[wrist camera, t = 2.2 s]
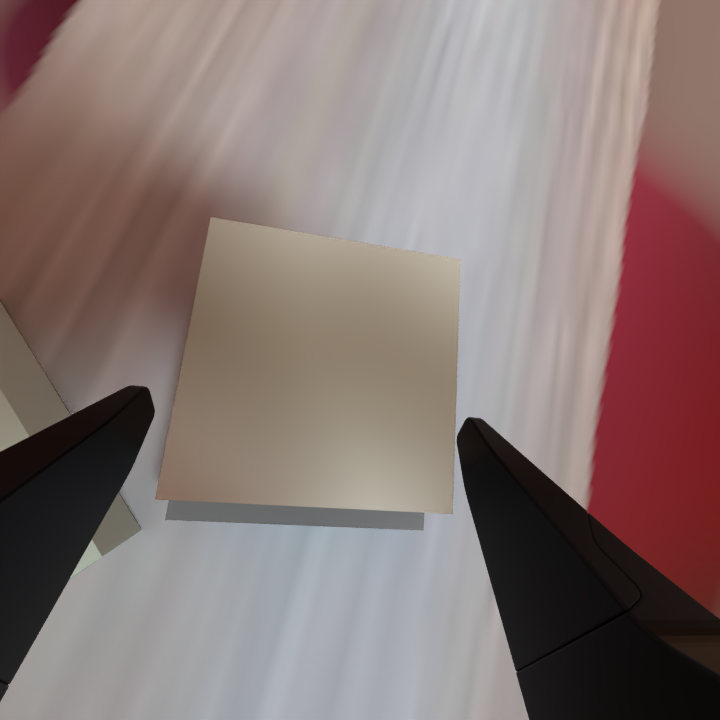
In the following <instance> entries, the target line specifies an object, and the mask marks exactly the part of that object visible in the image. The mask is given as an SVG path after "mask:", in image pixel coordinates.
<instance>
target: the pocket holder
mask: <svg viewBox="0 0 720 720" xmlns="http://www.w3.org/2000/svg"><path fill="white" fill-rule="evenodd" d="M165 520H186V521H210V522H234V523H259V524H283V525H307V526H331V527H355V528H379V529H404V530H423V528H424V513H422V512H402V511H382V510H361V509H341V508H321V507H301V506H281V505H260V504H240V503H220V502H200V501H180V500H169V503H168V508H167V513H166V518H165Z"/></svg>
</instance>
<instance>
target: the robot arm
mask: <svg viewBox="0 0 720 720" xmlns="http://www.w3.org/2000/svg"><path fill="white" fill-rule="evenodd" d="M154 413H155V409H154V405H153V401H152V398H151V394H150V391H149V389H148V388H147V387H144V386H134V385H131V386H127V387H125V388H123V389H121V390H119V391H117V392H115V393H113V394H111V395H110V396H108V397H106V398H104V399H102V400H100V401H98V402H96V403H94V404H92V405H90V406H88V407H86V408H84V409H82V410H80V411H78V412H76V413H74V414H73V415H71V416H69V417H67V418H65V419H63V420H61V421H59V422H57V423H55V424H53V425H51V426H49V427H47V428H45V429H43V430H41V431H39V432H37V433H35V434H34V435H32V436H30V437H28V438H26V439H24V440H22V441H20V442H18V443H16V444H14V445H12V446H10V447H8V448H6V449H4V450H2V451H0V701H1V700H2V698H3V696H4V694H5V692H6V691H7V689H8V687H9V686H8V684H10V683H11V681H12V680H13V678H14V676H15V674H16V672H17V671H18V669H19V667H20V665H21V664H22V662H23V660H24V658H25V657H26V655H27V653H28V651H29V649H30V648H31V646H32V644H33V642H34V641H35V639H36V637H37V635H38V634H39V632H40V630H41V628H42V627H43V625H44V623H45V621H46V619H47V618H48V616H49V614H50V612H51V611H52V609H53V607H54V605H55V604H56V602H57V600H58V598H59V597H60V595H61V593H62V591H63V589H64V588H65V586H66V584H67V582H68V581H69V579H70V577H71V575H72V574H73V572H74V570H75V568H76V567H77V565H78V563H79V561H80V559H81V558H82V556H83V554H84V552H85V551H86V549H87V547H88V545H89V544H90V542H91V540H92V538H93V536H94V535H95V533H96V531H97V529H98V528H99V526H100V524H101V522H102V521H103V519H104V517H105V515H106V514H107V512H108V510H109V508H110V506H111V505H112V503H113V501H114V499H115V498H116V496H117V494H118V492H119V491H120V489H121V487H122V485H123V484H124V482H125V480H126V478H127V476H128V474H129V473H130V471H131V469H132V467H133V464H134V462H135V460H136V458H137V455H138V453H139V451H140V448H141V446H142V444H143V441H144V439H145V436H146V434H147V432H148V429H149V427H150V425H151V422H152V420H153V417H154ZM457 446H458V452H459V458H460V464H461V470H462V476H463V482H464V487H465V491H466V495H467V499H468V503H469V506H470V510H471V513H472V517H473V520H474V524H475V527H476V531H477V535H478V538H479V542H480V545H481V549H482V552H483V556H484V559H485V563H486V567H487V570H488V574H489V577H490V581H491V584H492V588H493V591H494V595H495V599H496V602H497V606H498V609H499V613H500V616H501V620H502V623H503V627H504V631H505V634H506V638H507V641H508V645H509V648H510V652H511V655H512V659H513V663H514V666H515V670H516V671H517V673H516V674H517V678H518V681H519V685H520V688H521V692H522V695H523V699H524V703H525V706H526V710H527V713H528V717H529V720H720V619H719V618H718V617H716V616H715V615H714V614H712V613H711V612H710V611H709V610H707V609H706V608H705V607H703V606H702V605H701V604H700V603H698V602H697V601H696V600H695V599H693V598H692V597H691V596H690V595H688V594H687V593H686V592H685V591H683V590H682V589H681V588H679V587H678V586H677V585H676V584H674V583H673V582H672V581H671V580H669V579H668V578H667V577H666V576H664V575H663V574H662V573H660V572H659V571H658V570H657V569H655V568H654V567H653V566H652V565H650V564H649V563H648V562H647V561H645V560H644V559H643V558H642V557H640V556H639V555H638V554H637V553H636V552H634V551H633V550H632V549H631V548H629V547H628V546H627V545H626V544H624V543H623V542H622V541H621V540H620V539H618V538H617V537H616V536H615V535H614V534H612V532H610V531H609V530H608V529H607V528H605V527H604V526H603V525H602V524H601V523H600V522H599V521H598V520H597V519H595V518H594V517H593V516H592V515H591V514H589V513H587V511H586V510H585V509H584V508H583V507H582V506H580V505H579V504H578V503H577V502H576V501H575V500H574V499H573V498H571V497H570V496H569V495H568V494H567V493H566V492H565V491H563V490H562V489H561V488H560V487H559V486H558V485H557V484H555V483H554V482H553V481H552V480H551V479H550V478H549V477H547V476H546V475H545V474H544V473H543V472H542V471H541V470H539V469H538V468H537V467H536V466H535V465H534V464H533V463H532V462H530V461H529V460H528V459H527V458H526V457H525V456H524V455H522V454H521V453H520V452H519V451H518V450H517V449H516V448H514V447H513V446H512V445H511V444H510V443H509V442H508V441H506V440H505V439H504V438H503V437H502V436H501V435H500V434H498V433H497V432H496V431H495V430H494V429H493V428H492V427H491V426H489V425H488V424H487V423H486V422H485V421H484V420H482V419H481V418H473V417H468V418H467V419H466V420H465V422H464V424H463V426H462V427H461V429H460V431H459V433H458V436H457Z"/></svg>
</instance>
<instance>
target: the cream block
mask: <svg viewBox="0 0 720 720" xmlns="http://www.w3.org/2000/svg"><path fill="white" fill-rule="evenodd" d="M460 261H461V259H456V258H450V257H444V256H438V255H432V254H427V253H421V252H415V251H409V250H403V249H397V248H391V247H385V246H379V245H373V244H367V243H361V242H356V241H350V240H344V239H338V238H332V237H326V236H320V235H314V234H308V233H302V232H296V231H290V230H285V229H279V228H273V227H267V226H261V225H255V224H249V223H243V222H237V221H231V220H225V219H220V218H214V217H211V218H210V223H209V228H208V233H207V238H206V243H205V248H204V253H203V258H202V263H201V269H200V274H199V279H198V284H197V289H196V294H195V299H194V304H193V309H192V314H191V319H190V324H189V329H188V334H187V339H186V345H185V350H184V355H183V360H182V365H181V370H180V375H179V380H178V385H177V390H176V395H175V400H174V405H173V410H172V415H171V421H170V426H169V431H168V436H167V441H166V446H165V451H164V456H163V461H162V466H161V471H160V476H159V481H158V486H157V491H156V497H155V499H159V500H180V501H200V502H220V503H240V504H260V505H281V506H301V507H321V508H341V509H361V510H382V511H402V512H422V513H442V514H453V489H454V457H455V424H456V392H457V359H458V326H459V294H460Z"/></svg>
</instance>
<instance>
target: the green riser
mask: <svg viewBox="0 0 720 720" xmlns="http://www.w3.org/2000/svg"><path fill="white" fill-rule="evenodd" d="M69 416H71V415H70V413H69V412H68V410H67V408H66V407H65V405H64V404H63V402H62V400H61V399H60V397H59V396H58V394H57V392H56V391H55V389H54V387H53V386H52V384H51V383H50V381H49V379H48V378H47V376H46V375H45V373H44V371H43V370H42V368H41V366H40V365H39V363H38V362H37V360H36V358H35V357H34V355H33V354H32V352H31V350H30V349H29V347H28V345H27V344H26V342H25V341H24V339H23V337H22V336H21V334H20V332H19V331H18V329H17V328H16V326H15V324H14V323H13V321H12V320H11V318H10V316H9V315H8V313H7V311H6V310H5V308H4V307H3V305H2V303H1V302H0V451H2V450H4V449H6V448H8V447H10V446H12V445H14V444H16V443H18V442H20V441H22V440H24V439H26V438H28V437H30V436H32V435H34V434H35V433H37V432H39V431H41V430H43V429H45V428H47V427H49V426H51V425H53V424H55V423H57V422H59V421H61V420H63V419H65V418H67V417H69ZM140 530H141V528H140V527H139V525H138V523H137V522H136V520H135V518H134V517H133V515H132V514H131V512H130V510H129V509H128V507H127V506H126V504H125V502H124V501H123V499H122V497H121V496H120V494H119V493H118V494H117V496H116V498H115V499H114V501H113V503H112V505H111V506H110V508H109V510H108V512H107V514H106V515H105V517H104V519H103V521H102V522H101V524H100V526H99V528H98V529H97V531H96V533H95V535H94V536H93V538H92V540H91V542H90V544H89V545H88V547H87V549H86V551H85V552H84V554H83V556H82V558H81V559H80V561H79V563H78V565H77V567H76V568H75V570H74V572H73V574H72V575H71V577H70V578H72V577H73V576H74V575H76V574H77V573H79V572H80V571H82V570H83V569H85V568H86V567H88V566H89V565H91V564H92V563H93V562H95V561H96V560H98V559H99V558H101V557H102V556H104V555H105V554H107V553H108V552H109V551H111V550H112V549H114V548H115V547H117V546H118V545H120V544H121V543H123V542H124V541H126V540H127V539H128V538H130V537H131V536H133V535H134V534H136V533H137V532H139V531H140Z"/></svg>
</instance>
